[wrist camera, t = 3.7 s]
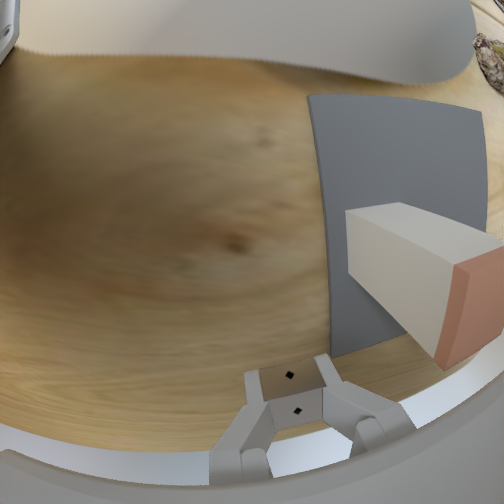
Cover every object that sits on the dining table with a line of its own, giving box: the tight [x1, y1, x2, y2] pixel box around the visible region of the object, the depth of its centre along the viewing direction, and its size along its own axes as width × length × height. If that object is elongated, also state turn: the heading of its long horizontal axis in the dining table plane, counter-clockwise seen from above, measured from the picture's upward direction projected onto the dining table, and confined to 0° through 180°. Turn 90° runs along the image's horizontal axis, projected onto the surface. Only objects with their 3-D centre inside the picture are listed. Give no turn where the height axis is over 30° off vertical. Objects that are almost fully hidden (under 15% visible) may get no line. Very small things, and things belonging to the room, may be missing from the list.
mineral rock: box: [472, 33, 504, 92], centre depth 14 cm, size 11×4×8 cm
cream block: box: [345, 202, 504, 371], centre depth 14 cm, size 5×5×12 cm
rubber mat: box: [307, 94, 488, 358], centre depth 20 cm, size 22×20×1 cm
